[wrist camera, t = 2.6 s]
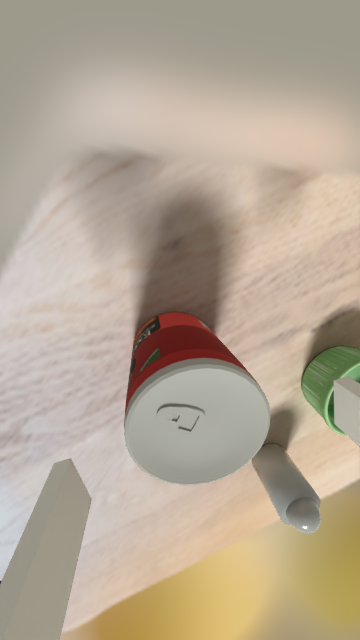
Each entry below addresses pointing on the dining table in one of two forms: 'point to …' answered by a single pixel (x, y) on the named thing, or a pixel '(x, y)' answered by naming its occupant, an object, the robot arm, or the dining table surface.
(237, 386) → the canned food
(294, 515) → the pepper pot
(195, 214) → the dining table surface
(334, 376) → the ramekin
